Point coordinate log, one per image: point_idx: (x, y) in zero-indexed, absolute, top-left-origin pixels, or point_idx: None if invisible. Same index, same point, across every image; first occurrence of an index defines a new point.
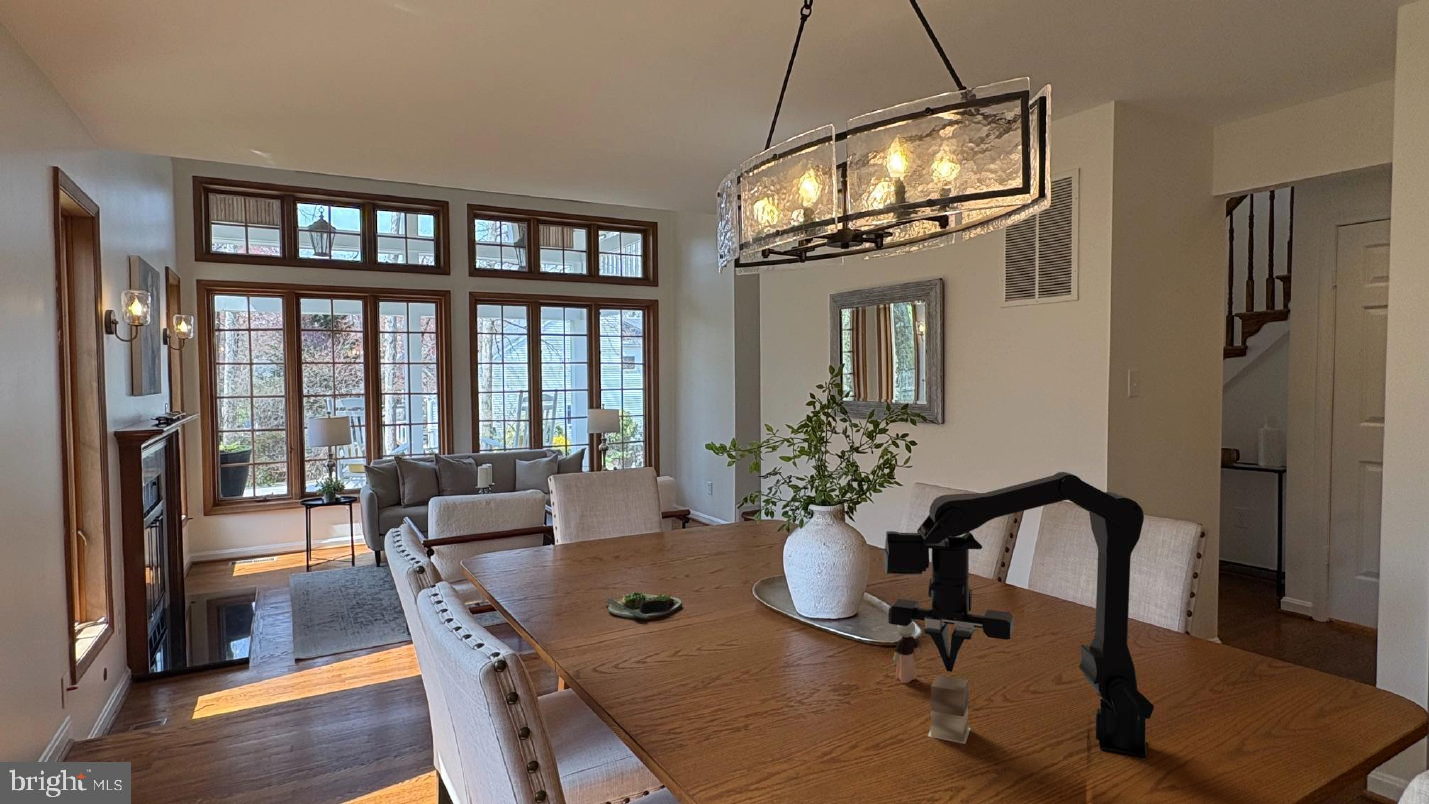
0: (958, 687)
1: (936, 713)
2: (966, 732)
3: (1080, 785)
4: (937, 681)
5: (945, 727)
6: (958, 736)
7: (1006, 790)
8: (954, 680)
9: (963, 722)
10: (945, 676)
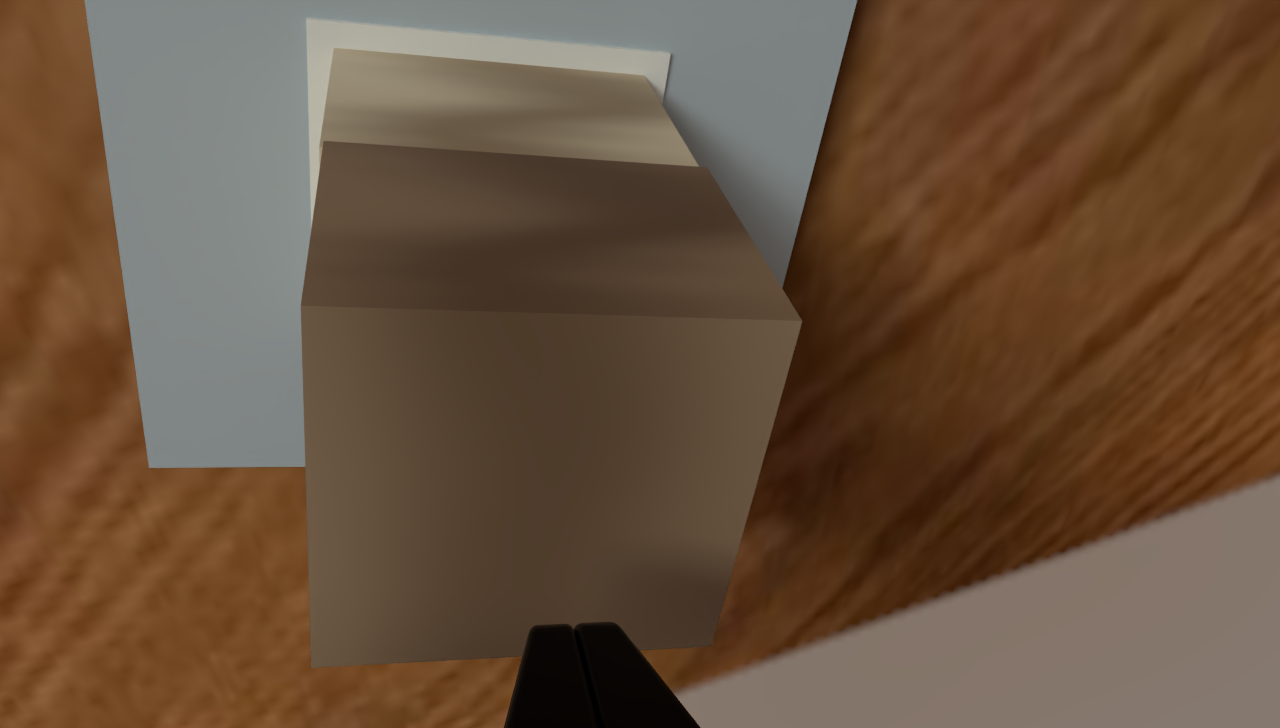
0: (655, 576)
1: None
2: None
3: (1195, 461)
4: (363, 523)
5: None
6: None
7: (813, 632)
8: (601, 400)
9: None
10: (451, 305)
